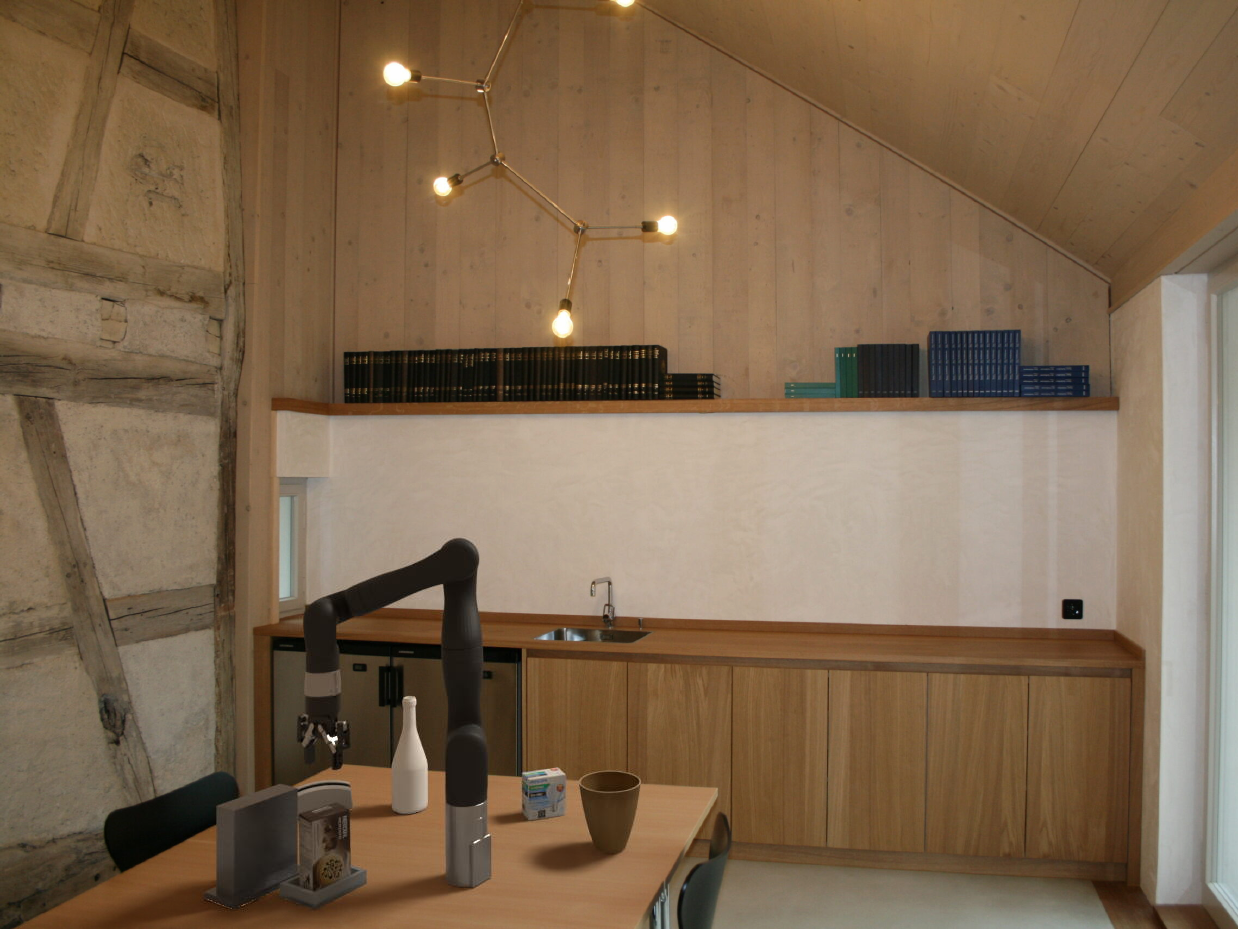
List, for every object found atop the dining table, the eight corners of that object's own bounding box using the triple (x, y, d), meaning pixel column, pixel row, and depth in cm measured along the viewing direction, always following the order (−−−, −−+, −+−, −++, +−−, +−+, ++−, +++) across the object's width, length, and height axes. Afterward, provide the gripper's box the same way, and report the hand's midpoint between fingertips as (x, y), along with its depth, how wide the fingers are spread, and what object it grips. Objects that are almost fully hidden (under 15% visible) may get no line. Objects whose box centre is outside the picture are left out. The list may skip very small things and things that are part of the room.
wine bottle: (411, 800, 244) (411, 691, 245) (435, 807, 239) (434, 696, 240) (384, 810, 237) (383, 698, 237) (407, 817, 231) (407, 703, 232)
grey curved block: (351, 804, 242) (353, 773, 239) (353, 815, 238) (355, 784, 235) (287, 813, 235) (287, 781, 232) (287, 825, 231) (288, 793, 228)
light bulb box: (528, 821, 228) (528, 779, 228) (520, 812, 234) (520, 772, 234) (567, 815, 232) (566, 774, 232) (558, 806, 238) (558, 766, 238)
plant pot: (566, 848, 210) (566, 781, 210) (609, 830, 221) (608, 766, 221) (611, 866, 200) (611, 795, 200) (654, 846, 211) (653, 779, 211)
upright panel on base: (309, 875, 197) (309, 787, 197) (233, 910, 181) (233, 814, 181) (280, 865, 202) (280, 780, 203) (204, 899, 186) (204, 806, 186)
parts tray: (366, 883, 192) (366, 869, 192) (314, 910, 180) (314, 895, 181) (332, 872, 198) (332, 859, 198) (279, 897, 186) (279, 883, 186)
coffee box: (337, 874, 195) (337, 801, 195) (351, 883, 190) (351, 808, 191) (297, 888, 188) (297, 812, 189) (312, 898, 184) (312, 820, 184)
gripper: (286, 691, 191) (287, 766, 190) (331, 698, 184) (332, 776, 183) (314, 684, 197) (315, 756, 197) (359, 691, 190) (359, 766, 190)
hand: (323, 766), depth 190 cm, fingers open, 8 cm apart
